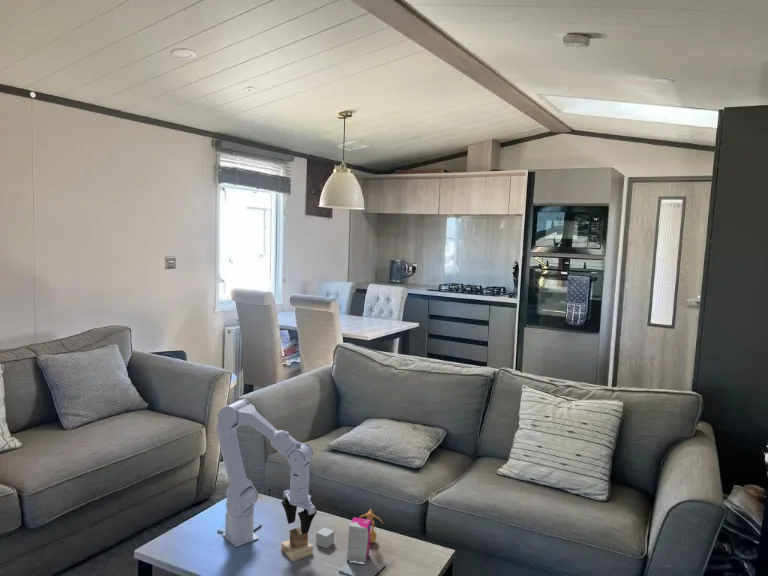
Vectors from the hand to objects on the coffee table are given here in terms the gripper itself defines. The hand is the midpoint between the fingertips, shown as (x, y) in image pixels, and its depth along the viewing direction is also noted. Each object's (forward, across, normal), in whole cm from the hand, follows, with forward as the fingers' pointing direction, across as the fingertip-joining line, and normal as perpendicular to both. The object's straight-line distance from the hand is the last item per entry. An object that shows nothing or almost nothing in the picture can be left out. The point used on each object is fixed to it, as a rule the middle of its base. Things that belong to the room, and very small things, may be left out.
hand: (298, 527), depth 170 cm
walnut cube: (+5, -1, 0) cm, 5 cm away
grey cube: (+8, -2, -9) cm, 12 cm away
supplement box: (+8, -15, -12) cm, 21 cm away
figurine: (+8, -11, -20) cm, 24 cm away
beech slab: (+8, -1, +1) cm, 8 cm away
